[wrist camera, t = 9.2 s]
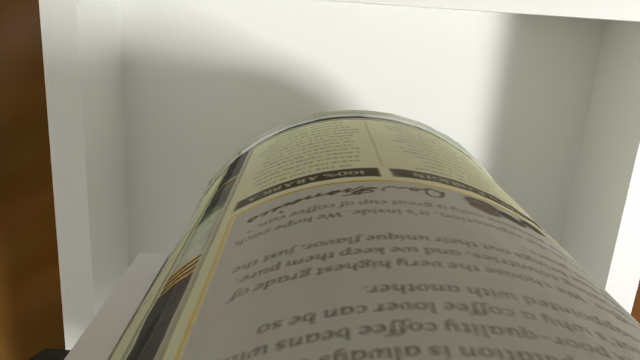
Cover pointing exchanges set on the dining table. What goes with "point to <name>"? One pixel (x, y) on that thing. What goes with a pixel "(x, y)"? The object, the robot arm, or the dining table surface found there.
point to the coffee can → (369, 259)
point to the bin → (335, 95)
